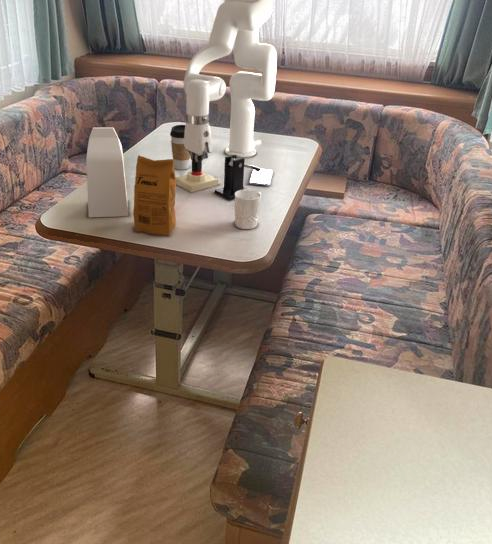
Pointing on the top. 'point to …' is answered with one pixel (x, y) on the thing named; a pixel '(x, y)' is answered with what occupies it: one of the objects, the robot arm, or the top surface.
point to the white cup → (247, 208)
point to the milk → (106, 174)
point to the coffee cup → (179, 148)
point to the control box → (196, 181)
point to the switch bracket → (232, 178)
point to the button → (196, 173)
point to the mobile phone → (261, 177)
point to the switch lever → (245, 165)
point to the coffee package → (154, 196)
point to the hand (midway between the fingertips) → (196, 171)
